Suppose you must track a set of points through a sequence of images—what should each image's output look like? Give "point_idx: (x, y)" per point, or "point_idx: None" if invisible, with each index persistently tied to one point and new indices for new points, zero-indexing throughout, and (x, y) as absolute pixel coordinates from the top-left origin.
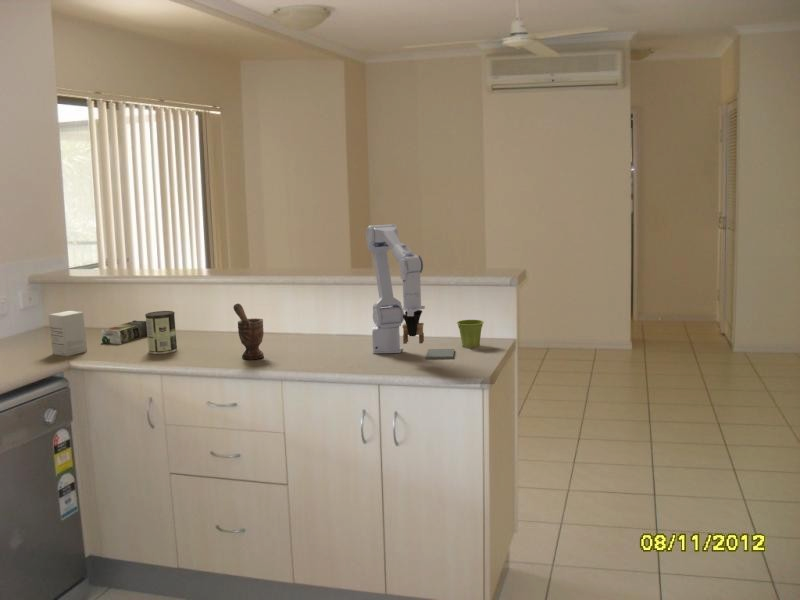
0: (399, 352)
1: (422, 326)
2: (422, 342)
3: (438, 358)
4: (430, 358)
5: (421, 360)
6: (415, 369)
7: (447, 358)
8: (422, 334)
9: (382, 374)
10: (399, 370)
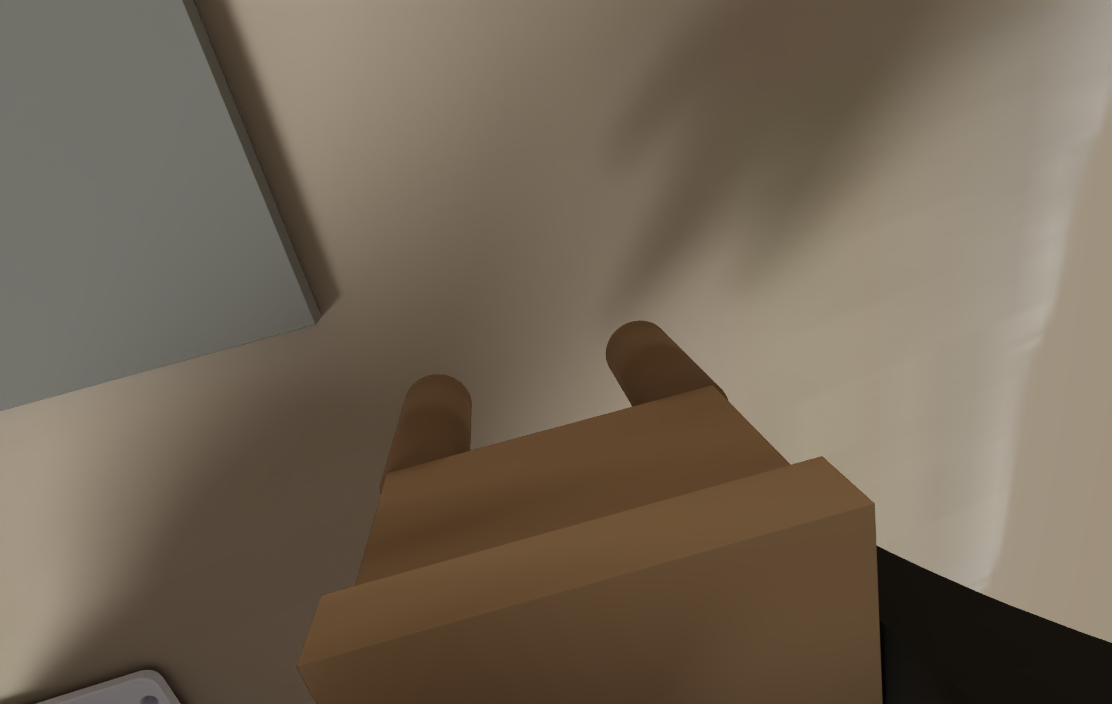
0: (154, 675)
1: (760, 488)
2: (655, 327)
3: (259, 165)
4: (298, 266)
5: (400, 342)
6: (803, 259)
7: (207, 37)
8: (666, 390)
9: (973, 462)
10: (844, 388)
